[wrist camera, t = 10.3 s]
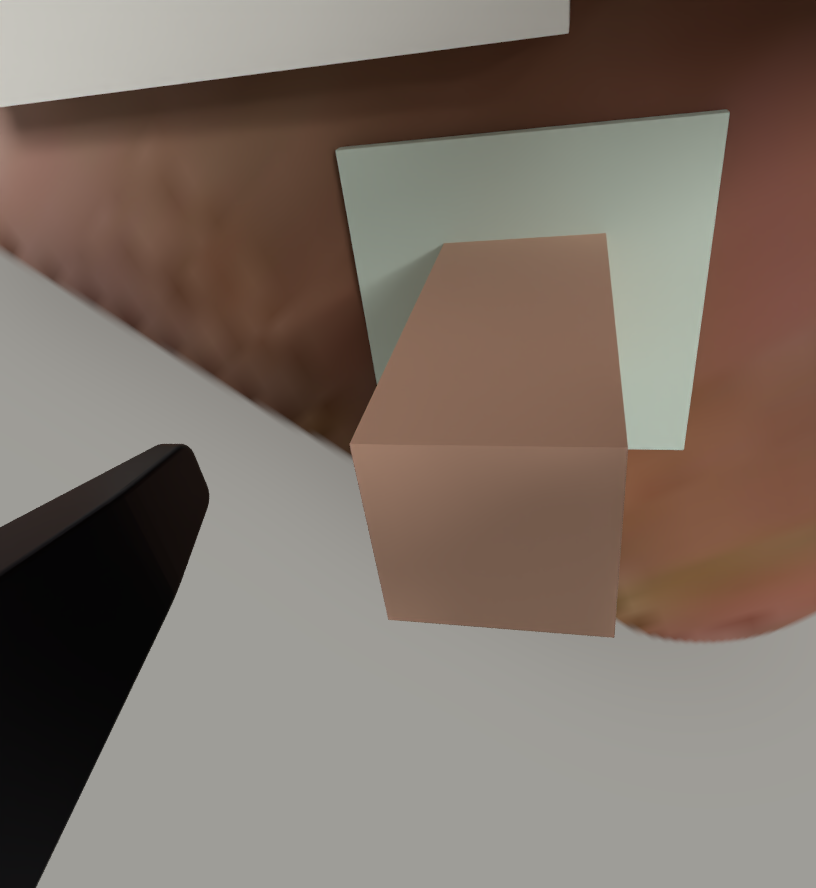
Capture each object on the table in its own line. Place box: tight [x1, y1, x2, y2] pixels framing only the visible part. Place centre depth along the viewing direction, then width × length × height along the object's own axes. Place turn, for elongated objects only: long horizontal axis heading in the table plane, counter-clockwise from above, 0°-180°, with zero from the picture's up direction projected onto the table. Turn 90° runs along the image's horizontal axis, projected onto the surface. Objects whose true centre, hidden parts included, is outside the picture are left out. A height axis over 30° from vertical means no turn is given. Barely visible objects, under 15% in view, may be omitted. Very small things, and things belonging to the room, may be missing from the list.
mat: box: [335, 109, 730, 450], centre depth 20 cm, size 10×10×1 cm
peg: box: [350, 233, 628, 638], centre depth 16 cm, size 4×4×10 cm
